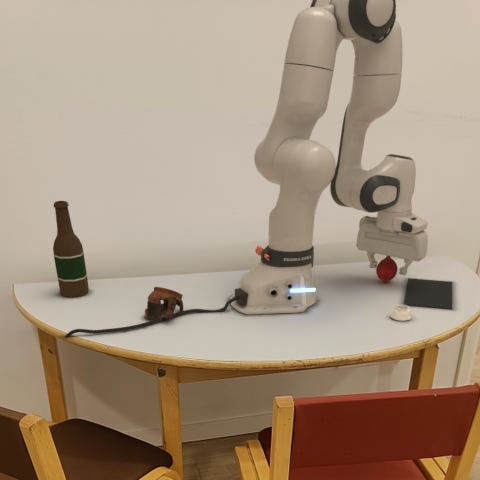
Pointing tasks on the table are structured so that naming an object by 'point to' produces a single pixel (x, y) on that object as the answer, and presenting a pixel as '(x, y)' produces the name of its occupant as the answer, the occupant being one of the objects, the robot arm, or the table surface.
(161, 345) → the table surface
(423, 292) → the placemat
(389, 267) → the red round fruit
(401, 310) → the white jar
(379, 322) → the table surface
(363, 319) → the table surface
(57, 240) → the beer bottle
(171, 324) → the table surface
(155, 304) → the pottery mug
